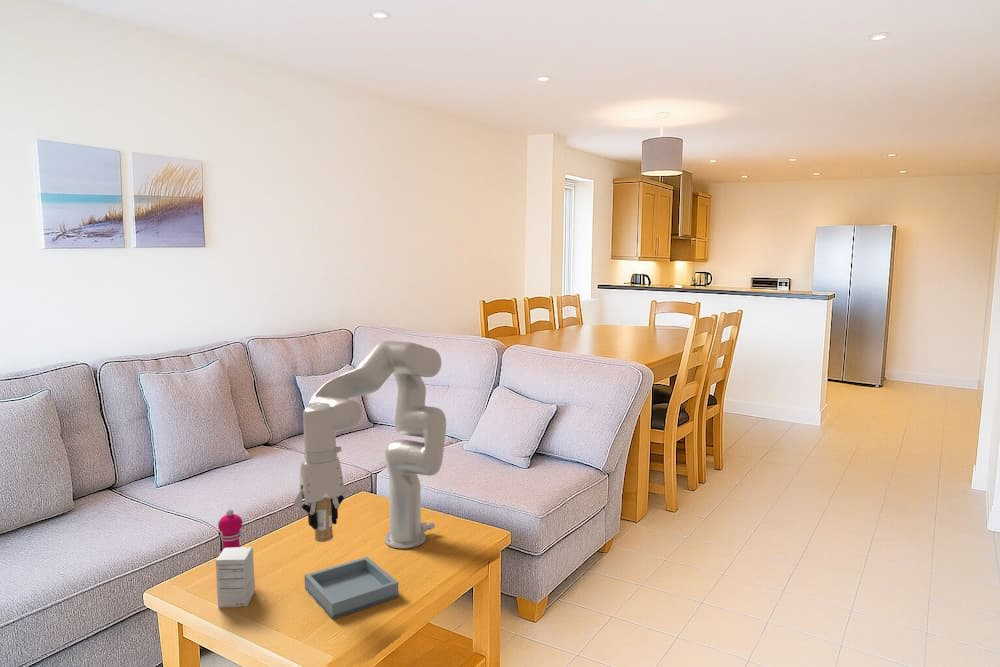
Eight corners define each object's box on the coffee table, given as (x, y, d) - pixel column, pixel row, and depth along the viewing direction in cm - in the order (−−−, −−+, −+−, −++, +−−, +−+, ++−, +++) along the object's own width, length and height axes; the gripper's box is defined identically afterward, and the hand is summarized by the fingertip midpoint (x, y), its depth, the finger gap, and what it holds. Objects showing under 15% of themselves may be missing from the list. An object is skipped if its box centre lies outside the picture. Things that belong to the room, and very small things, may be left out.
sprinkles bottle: (337, 537, 168) (335, 486, 166) (322, 544, 165) (320, 492, 163) (325, 533, 171) (323, 483, 169) (310, 539, 167) (308, 488, 165)
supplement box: (226, 593, 173) (224, 546, 172) (255, 592, 174) (253, 546, 172) (216, 608, 166) (214, 560, 164) (247, 607, 167) (245, 559, 165)
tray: (367, 570, 186) (367, 556, 186) (398, 597, 172) (398, 582, 172) (304, 589, 176) (304, 574, 175) (332, 619, 161) (331, 604, 161)
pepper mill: (252, 576, 182) (250, 506, 180) (234, 589, 175) (231, 516, 173) (231, 572, 184) (228, 502, 182) (212, 584, 178) (208, 512, 175)
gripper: (346, 444, 173) (349, 511, 175) (281, 457, 163) (285, 528, 165) (358, 452, 167) (360, 521, 169) (292, 466, 157) (295, 539, 159)
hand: (323, 524), depth 167 cm, fingers closed on sprinkles bottle, 4 cm apart
